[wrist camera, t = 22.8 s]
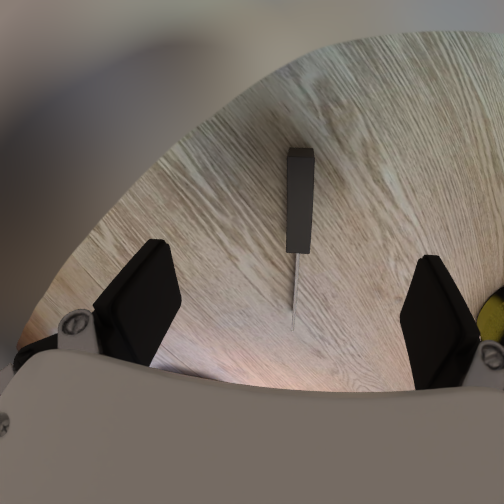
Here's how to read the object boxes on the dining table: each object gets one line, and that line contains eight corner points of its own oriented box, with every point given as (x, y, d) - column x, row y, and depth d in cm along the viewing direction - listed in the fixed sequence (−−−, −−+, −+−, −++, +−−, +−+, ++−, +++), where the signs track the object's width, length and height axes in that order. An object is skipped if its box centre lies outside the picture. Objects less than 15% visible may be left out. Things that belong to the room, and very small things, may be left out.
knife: (289, 147, 25) (287, 156, 22) (313, 148, 25) (314, 157, 21) (285, 310, 35) (282, 333, 32) (303, 311, 35) (301, 334, 32)
